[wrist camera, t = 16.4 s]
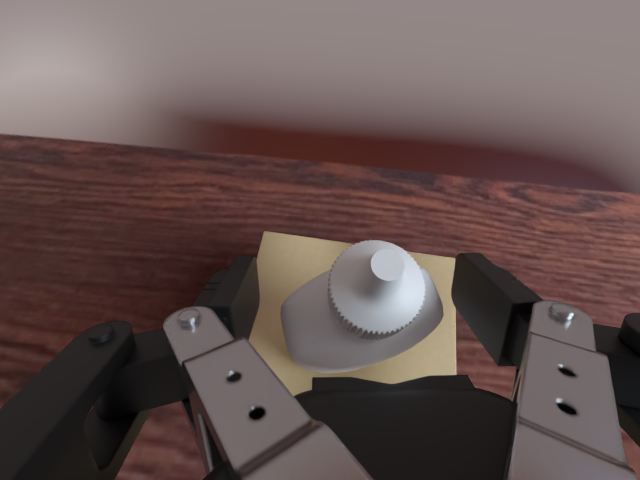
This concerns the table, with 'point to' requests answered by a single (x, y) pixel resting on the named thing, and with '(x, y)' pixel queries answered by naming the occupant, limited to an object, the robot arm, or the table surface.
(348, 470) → the robot arm
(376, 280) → the eye dropper bottle
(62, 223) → the table surface
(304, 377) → the stand
